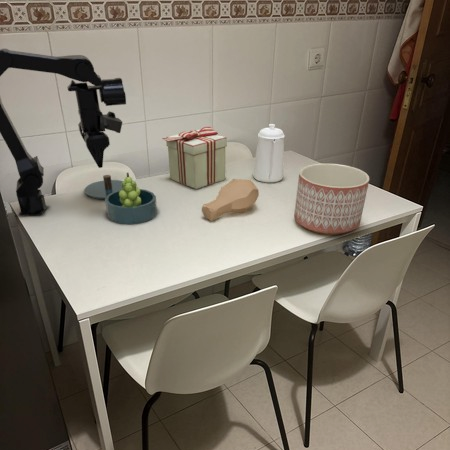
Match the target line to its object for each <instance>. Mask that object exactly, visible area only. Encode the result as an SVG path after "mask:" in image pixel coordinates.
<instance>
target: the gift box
mask: <svg viewBox="0 0 450 450" xmlns="http://www.w3.org/2000/svg"><path fill="white" fill-rule="evenodd" d="M227 139H228V138H227V137H226V136H223V135H220V134H218V131H216V130H215V129H214V128H213V127H211V126H204V127H202V128H200V129H193V130H187V131H182V132H180V133H177V134H173V135H169V136H166V137H162V140H164V141H166V142H165V143H166V144H165V145H166V147H167V152H168V167H169V168H168V169H169V179H170V180H172V181H175V182H177V183H179V184H182V185H184V186H187V187H189V188H191V189H194V190H198V189H200V188H201V189H202V188H204V187H207V186H210V185H213V184H216V183H219V182H222V181H224V180H225V181H226V147H228V140H227Z"/></svg>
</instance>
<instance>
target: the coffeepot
mask: <svg viewBox="0 0 450 450" xmlns="http://www.w3.org/2000/svg"><path fill="white" fill-rule="evenodd" d="M285 139H286V134H284V131H283V130H282V129H281V128H278V127H276V124H274V123H269V124H268V127H264V128H261V129H260V130H259V132H258V133H257V142H256V149H255V150H256V152H255V157H254V158H255V159H254V165H253V173H252V176H253V178H254V179H255V180H257V182H261V183H277V182H280V181H281V180H282V179H283V178H284V162H285V161H284V160H285V159H284V158H285V157H284V156H285V152H284V151H285Z"/></svg>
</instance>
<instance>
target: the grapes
mask: <svg viewBox="0 0 450 450" xmlns="http://www.w3.org/2000/svg"><path fill="white" fill-rule="evenodd" d="M122 181H123V182H122V190H121V191H120V192H119V197H120V202H121V204H123V205H122V206H121V207H135V206H141V198H140V197H138V196H139V195H140V189H141V188H139V187H138V184H137V182H136V181H135V180H133V178H132V177H131V176H130V172H126V177H125V178H124V180H122Z"/></svg>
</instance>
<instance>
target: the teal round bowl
mask: <svg viewBox="0 0 450 450" xmlns="http://www.w3.org/2000/svg"><path fill="white" fill-rule="evenodd" d="M139 189H140V195H139V196H138V197H140V198H141V206H135V207H121V206H122V205H123V204H121V202H120V197H119V192H120V191H121V190H118V191H115V192H112V193H111V194H109V195H108V196H107V197H106V199H104V202H105V207H106V215H107V217H108V220H110V221H112V222H114V223H117V224H120V225H121V224H122V225H136V224H137V225H138V224H143V223H146V222H150V221H151V220H152V219H154V218H155V217H156V216H157V213H158V212H157V211H158V207H157V197H156V196H157V195H156V194H155V193H154V192H153V191H150V190H148V189H142V188H139Z"/></svg>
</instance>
